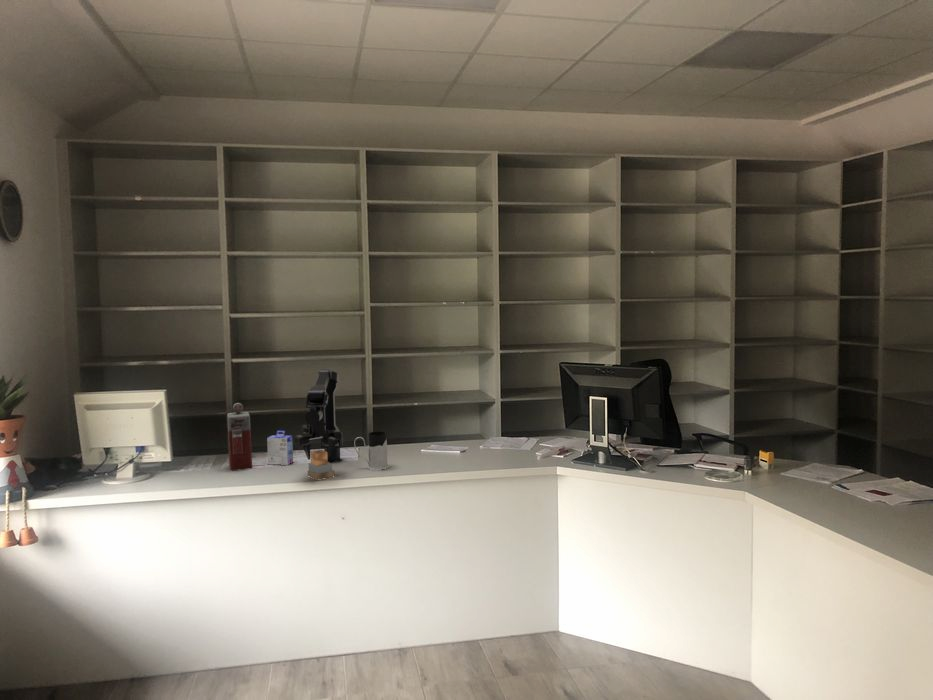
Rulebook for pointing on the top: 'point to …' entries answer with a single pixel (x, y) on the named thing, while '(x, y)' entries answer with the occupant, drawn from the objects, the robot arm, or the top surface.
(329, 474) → the tower base
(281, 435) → the ink cartridge box
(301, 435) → the robot arm
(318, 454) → the orange cube
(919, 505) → the top surface
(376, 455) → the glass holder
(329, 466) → the tower top
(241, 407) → the red and grey bottle
